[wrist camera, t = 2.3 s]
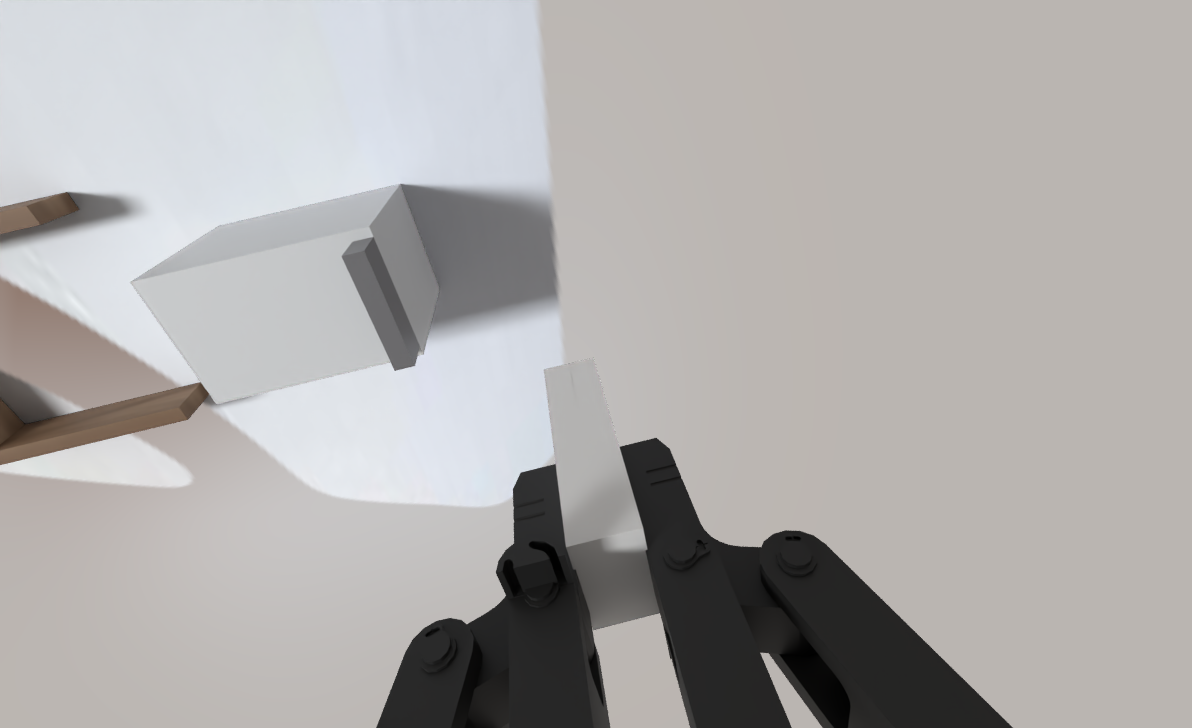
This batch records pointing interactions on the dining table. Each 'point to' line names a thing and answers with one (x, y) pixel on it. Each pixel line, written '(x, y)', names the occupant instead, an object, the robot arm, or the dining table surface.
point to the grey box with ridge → (298, 295)
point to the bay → (13, 440)
